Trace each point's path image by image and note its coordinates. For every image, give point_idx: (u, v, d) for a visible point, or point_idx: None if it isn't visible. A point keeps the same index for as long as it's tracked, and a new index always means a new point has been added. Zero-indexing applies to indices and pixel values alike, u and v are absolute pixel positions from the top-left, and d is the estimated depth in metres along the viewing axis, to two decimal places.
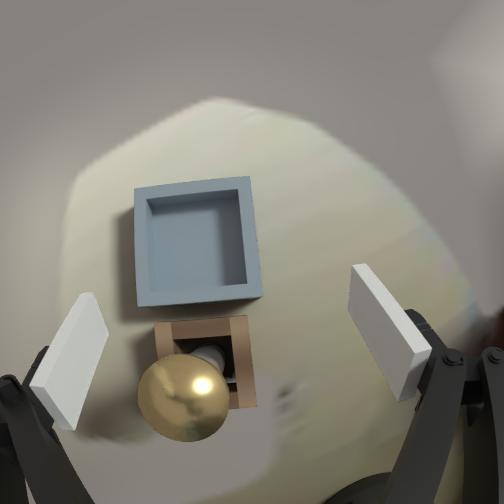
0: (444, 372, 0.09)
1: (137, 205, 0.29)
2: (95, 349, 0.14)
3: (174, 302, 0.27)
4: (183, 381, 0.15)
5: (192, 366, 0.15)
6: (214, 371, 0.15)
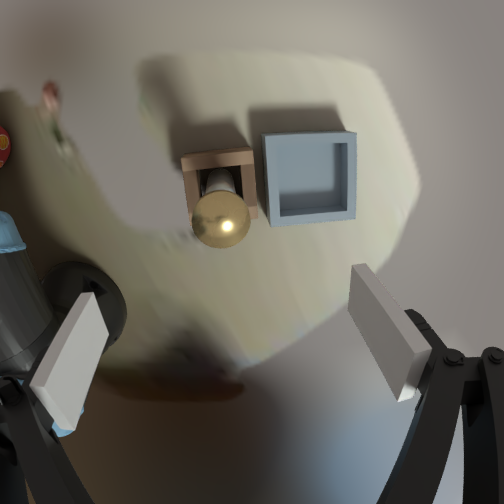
0: (444, 372, 0.09)
1: (343, 135, 0.35)
2: (95, 349, 0.14)
3: (268, 165, 0.36)
4: (234, 222, 0.26)
5: (243, 227, 0.27)
6: (240, 240, 0.27)
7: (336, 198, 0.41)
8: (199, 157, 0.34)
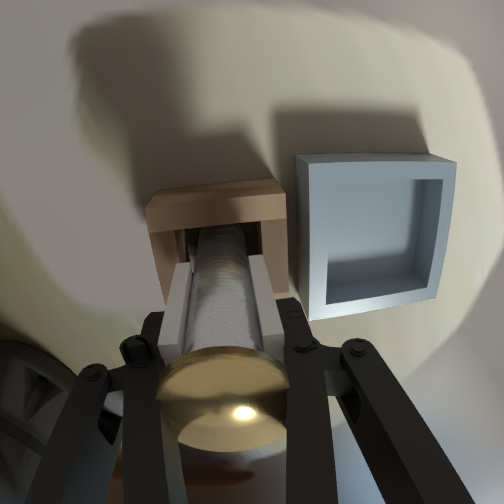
0: (298, 360, 0.10)
1: (438, 166, 0.18)
2: None
3: (311, 218, 0.19)
4: (259, 418, 0.10)
5: (282, 424, 0.10)
6: (273, 439, 0.10)
7: (408, 263, 0.24)
8: (179, 206, 0.18)
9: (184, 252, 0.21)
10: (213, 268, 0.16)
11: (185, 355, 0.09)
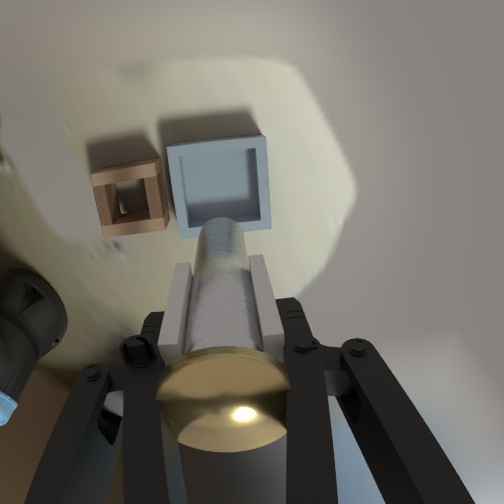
0: (298, 360, 0.10)
1: (250, 140, 0.34)
2: None
3: (171, 176, 0.35)
4: (259, 419, 0.10)
5: (282, 424, 0.10)
6: (273, 439, 0.10)
7: (253, 206, 0.40)
8: (106, 172, 0.33)
9: (113, 199, 0.37)
10: (213, 268, 0.16)
11: (185, 355, 0.09)
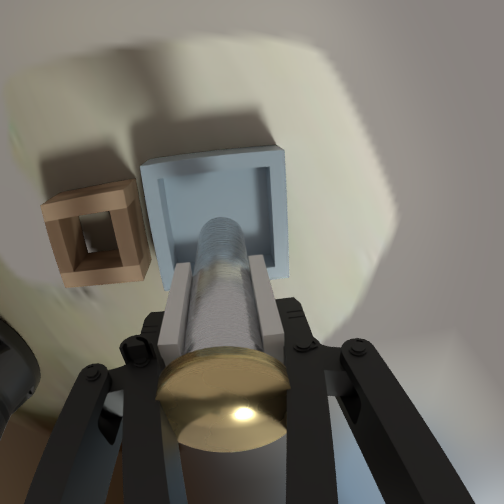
0: (298, 360, 0.10)
1: (261, 156, 0.24)
2: None
3: (148, 207, 0.24)
4: (259, 419, 0.10)
5: (282, 424, 0.10)
6: (273, 439, 0.10)
7: (264, 245, 0.29)
8: (59, 203, 0.23)
9: (75, 236, 0.26)
10: (213, 268, 0.16)
11: (185, 355, 0.09)
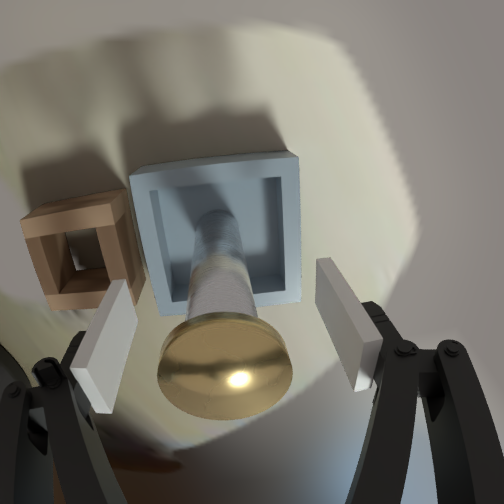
0: (397, 363, 0.09)
1: (272, 164, 0.20)
2: (127, 334, 0.15)
3: (140, 224, 0.21)
4: (255, 382, 0.11)
5: (276, 389, 0.11)
6: (268, 406, 0.12)
7: (272, 264, 0.26)
8: (40, 218, 0.19)
9: (60, 253, 0.23)
10: (211, 252, 0.17)
11: (187, 321, 0.11)
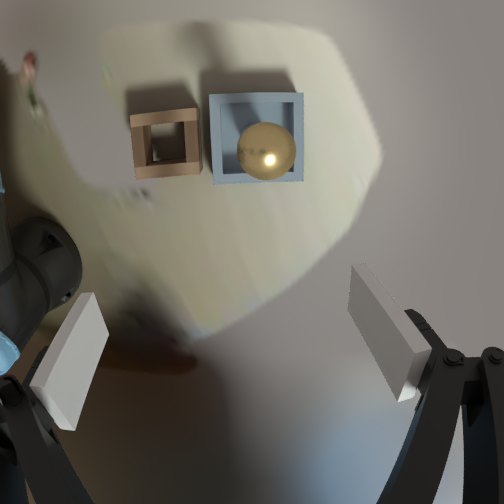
0: (444, 372, 0.09)
1: (288, 95, 0.34)
2: (95, 349, 0.14)
3: (211, 122, 0.35)
4: (279, 153, 0.25)
5: (289, 160, 0.26)
6: (285, 172, 0.26)
7: None
8: (146, 114, 0.34)
9: (148, 144, 0.37)
10: None
11: (253, 124, 0.25)
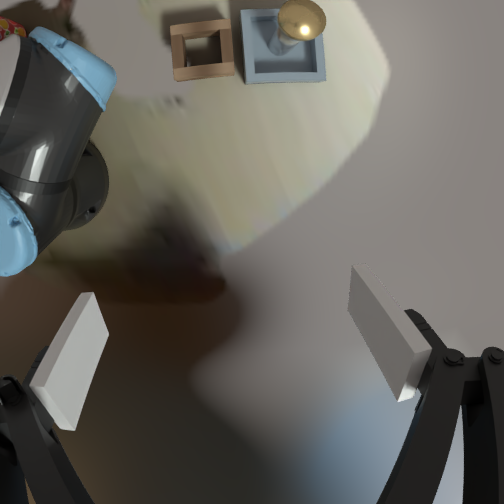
0: (444, 372, 0.09)
1: None
2: (95, 349, 0.14)
3: (243, 30, 0.35)
4: (313, 20, 0.25)
5: (321, 25, 0.25)
6: (318, 34, 0.26)
7: (308, 67, 0.40)
8: (185, 24, 0.34)
9: (184, 53, 0.37)
10: None
11: None
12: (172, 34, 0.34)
